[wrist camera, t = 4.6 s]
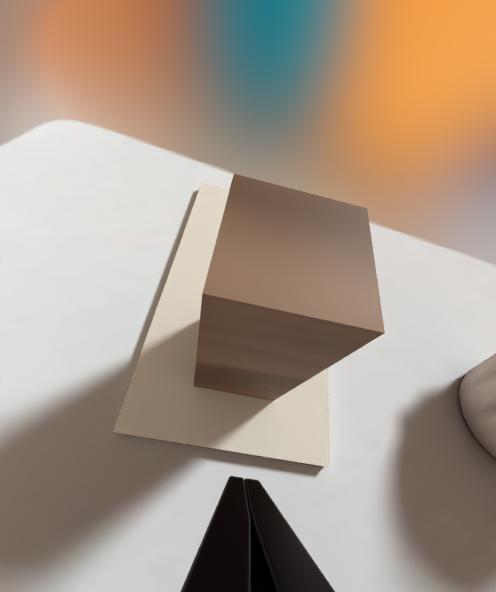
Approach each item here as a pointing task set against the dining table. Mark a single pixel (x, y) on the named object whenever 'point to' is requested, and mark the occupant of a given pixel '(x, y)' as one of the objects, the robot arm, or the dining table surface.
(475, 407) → the cupcake
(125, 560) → the dining table surface
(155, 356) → the beige mat
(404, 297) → the dining table surface
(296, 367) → the walnut block
